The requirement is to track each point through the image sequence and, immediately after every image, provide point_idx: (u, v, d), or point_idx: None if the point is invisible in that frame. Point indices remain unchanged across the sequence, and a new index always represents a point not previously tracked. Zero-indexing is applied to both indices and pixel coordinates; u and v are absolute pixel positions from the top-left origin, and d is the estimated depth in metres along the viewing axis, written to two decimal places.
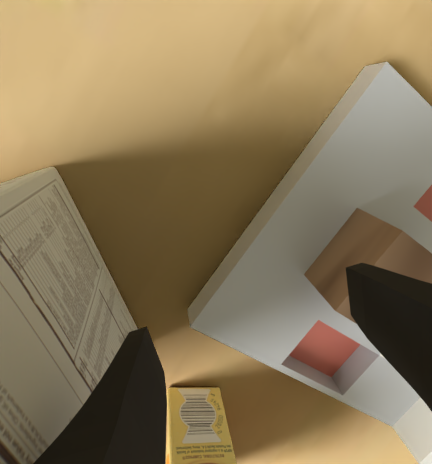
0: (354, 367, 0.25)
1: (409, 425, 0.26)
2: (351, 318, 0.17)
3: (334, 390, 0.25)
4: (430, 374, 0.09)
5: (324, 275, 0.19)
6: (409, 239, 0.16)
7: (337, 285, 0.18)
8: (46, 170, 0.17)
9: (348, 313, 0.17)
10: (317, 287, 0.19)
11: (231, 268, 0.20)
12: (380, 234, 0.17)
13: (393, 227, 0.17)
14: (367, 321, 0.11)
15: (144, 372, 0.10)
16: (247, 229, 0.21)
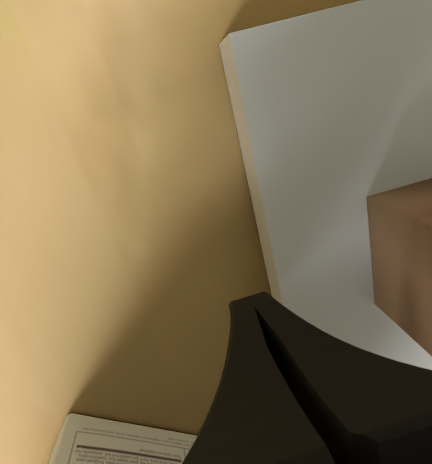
0: None
1: None
2: None
3: None
4: None
5: (397, 307, 0.13)
6: None
7: (422, 326, 0.12)
8: (61, 438, 0.16)
9: None
10: (401, 325, 0.13)
11: None
12: (421, 240, 0.11)
13: (430, 226, 0.10)
14: None
15: None
16: None
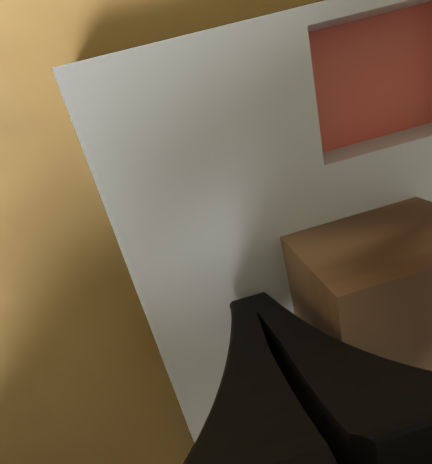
0: None
1: None
2: None
3: None
4: None
5: None
6: (362, 294, 0.08)
7: None
8: None
9: None
10: None
11: (187, 422, 0.14)
12: (321, 299, 0.09)
13: (324, 286, 0.08)
14: None
15: None
16: None
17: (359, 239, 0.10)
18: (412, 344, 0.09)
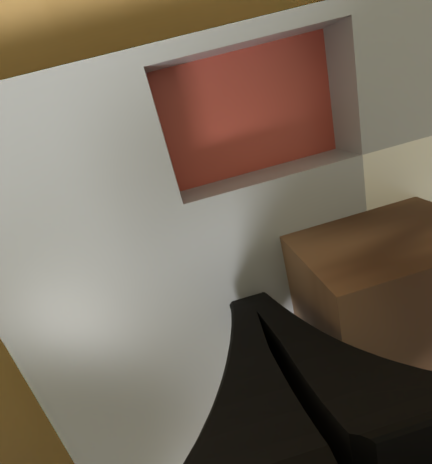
0: None
1: None
2: None
3: None
4: None
5: None
6: (362, 293, 0.08)
7: None
8: None
9: None
10: None
11: (75, 458, 0.14)
12: (321, 299, 0.09)
13: (324, 286, 0.08)
14: None
15: None
16: None
17: (359, 239, 0.10)
18: (411, 343, 0.09)
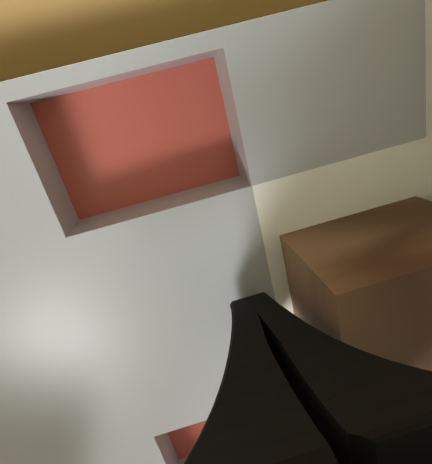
0: None
1: None
2: None
3: None
4: None
5: None
6: (361, 292, 0.08)
7: None
8: None
9: None
10: None
11: None
12: (320, 297, 0.09)
13: (323, 284, 0.08)
14: None
15: None
16: None
17: (358, 238, 0.10)
18: (410, 342, 0.09)
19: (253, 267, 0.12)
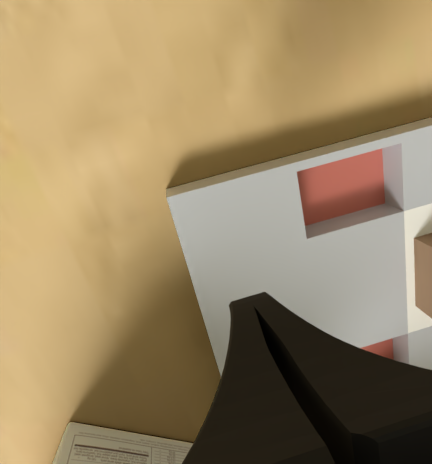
0: (400, 347, 0.25)
1: None
2: None
3: None
4: None
5: None
6: None
7: None
8: (64, 439, 0.23)
9: None
10: None
11: None
12: None
13: None
14: None
15: None
16: None
17: None
18: None
19: (397, 256, 0.21)
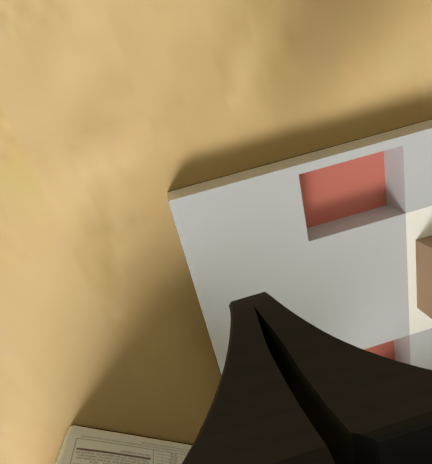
0: (402, 349, 0.25)
1: None
2: None
3: None
4: None
5: None
6: None
7: None
8: (65, 443, 0.23)
9: None
10: None
11: None
12: None
13: None
14: None
15: None
16: None
17: None
18: None
19: (398, 258, 0.21)
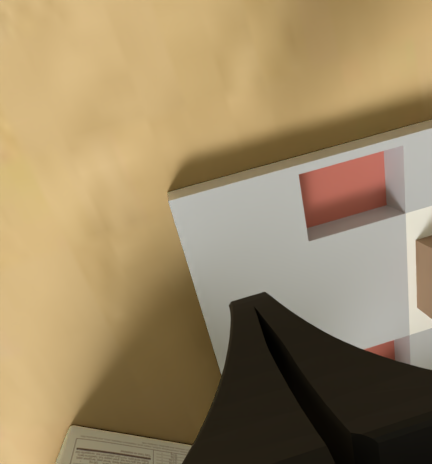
0: (402, 349, 0.25)
1: None
2: None
3: None
4: None
5: None
6: None
7: None
8: (65, 443, 0.23)
9: None
10: None
11: None
12: None
13: None
14: None
15: None
16: None
17: None
18: None
19: (398, 258, 0.21)
